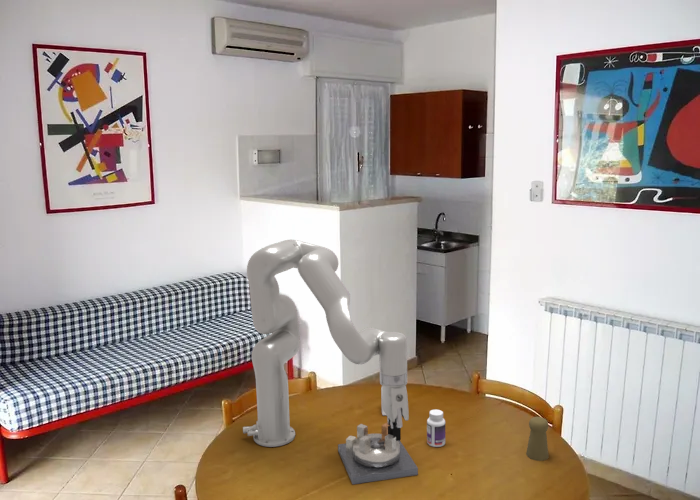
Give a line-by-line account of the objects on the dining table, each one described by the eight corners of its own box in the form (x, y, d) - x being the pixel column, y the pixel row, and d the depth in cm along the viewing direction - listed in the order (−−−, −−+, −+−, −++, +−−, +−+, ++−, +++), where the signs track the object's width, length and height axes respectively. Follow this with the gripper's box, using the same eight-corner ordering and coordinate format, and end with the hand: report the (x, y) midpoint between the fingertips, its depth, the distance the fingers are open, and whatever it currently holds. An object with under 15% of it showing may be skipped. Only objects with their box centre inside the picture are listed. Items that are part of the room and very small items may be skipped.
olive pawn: (548, 451, 172) (550, 415, 171) (548, 462, 167) (550, 425, 165) (526, 448, 174) (528, 412, 172) (525, 458, 169) (527, 422, 167)
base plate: (352, 484, 158) (352, 464, 157) (338, 450, 175) (337, 432, 174) (417, 474, 162) (417, 455, 161) (397, 442, 179) (397, 425, 178)
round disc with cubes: (380, 472, 159) (380, 447, 158) (343, 456, 167) (342, 433, 166) (413, 449, 170) (413, 426, 169) (376, 436, 178) (376, 413, 177)
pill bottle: (447, 440, 180) (447, 410, 178) (442, 449, 175) (442, 417, 173) (430, 437, 182) (430, 407, 180) (424, 445, 177) (424, 414, 175)
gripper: (416, 386, 159) (416, 450, 162) (397, 366, 173) (398, 426, 176) (388, 389, 157) (389, 454, 160) (372, 369, 171) (373, 429, 174)
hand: (394, 439), depth 168 cm, fingers closed
